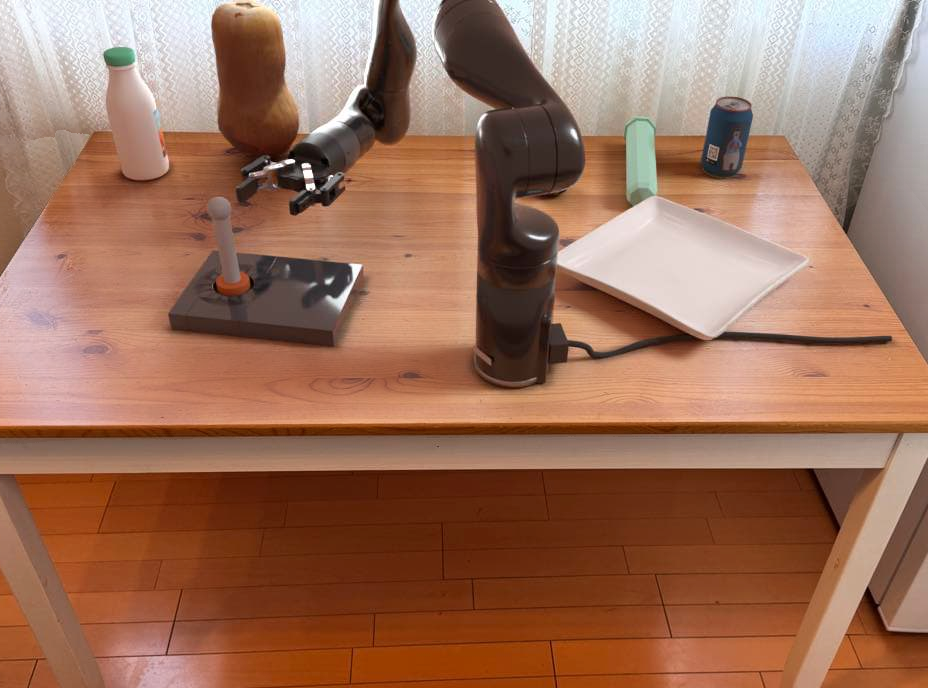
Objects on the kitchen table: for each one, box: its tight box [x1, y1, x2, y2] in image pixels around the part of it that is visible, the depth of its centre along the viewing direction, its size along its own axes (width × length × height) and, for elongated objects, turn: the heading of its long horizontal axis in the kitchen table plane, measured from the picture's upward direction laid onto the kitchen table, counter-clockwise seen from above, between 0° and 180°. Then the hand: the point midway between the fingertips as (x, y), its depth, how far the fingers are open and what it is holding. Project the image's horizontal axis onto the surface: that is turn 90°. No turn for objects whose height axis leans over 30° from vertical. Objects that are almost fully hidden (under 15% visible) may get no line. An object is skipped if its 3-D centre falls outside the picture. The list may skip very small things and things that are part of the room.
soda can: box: [700, 96, 754, 179], centre depth 153 cm, size 7×7×12 cm
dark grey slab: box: [167, 249, 365, 347], centre depth 123 cm, size 22×16×2 cm
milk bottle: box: [102, 46, 170, 181], centre depth 147 cm, size 8×8×20 cm
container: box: [623, 115, 658, 207], centre depth 153 cm, size 6×6×25 cm
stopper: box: [206, 196, 251, 296], centre depth 120 cm, size 4×4×15 cm
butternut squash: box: [210, 0, 300, 160], centre depth 151 cm, size 14×13×25 cm
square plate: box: [556, 195, 812, 341], centre depth 129 cm, size 27×27×4 cm
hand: (265, 202), depth 125 cm, fingers open, 8 cm apart
